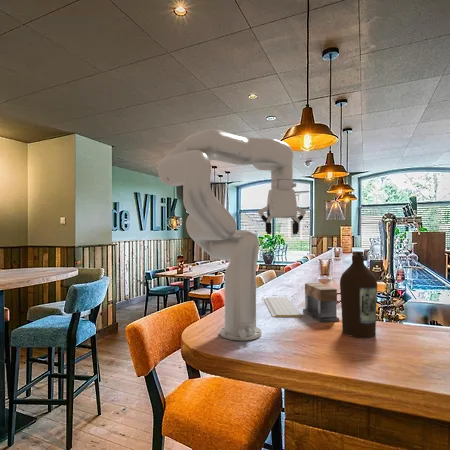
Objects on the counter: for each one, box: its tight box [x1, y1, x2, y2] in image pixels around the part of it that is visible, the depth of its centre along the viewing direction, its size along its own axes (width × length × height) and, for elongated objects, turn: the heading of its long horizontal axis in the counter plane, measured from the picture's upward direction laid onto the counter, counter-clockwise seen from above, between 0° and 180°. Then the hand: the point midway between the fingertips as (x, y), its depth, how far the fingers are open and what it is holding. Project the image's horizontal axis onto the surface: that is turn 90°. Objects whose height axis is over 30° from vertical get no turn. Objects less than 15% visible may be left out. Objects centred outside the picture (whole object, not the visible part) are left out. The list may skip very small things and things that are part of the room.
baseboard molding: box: [261, 295, 303, 318], centre depth 133 cm, size 31×3×12 cm
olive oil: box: [339, 250, 378, 339], centre depth 99 cm, size 11×11×25 cm
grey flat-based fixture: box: [302, 293, 340, 323], centre depth 119 cm, size 15×7×7 cm, turn 9°
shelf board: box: [304, 282, 338, 301], centre depth 119 cm, size 14×6×4 cm, turn 8°
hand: (282, 234), depth 115 cm, fingers open, 9 cm apart
